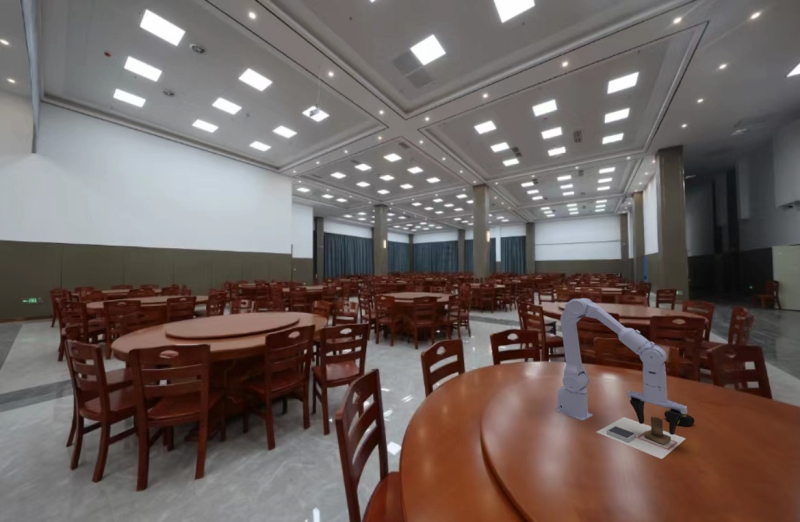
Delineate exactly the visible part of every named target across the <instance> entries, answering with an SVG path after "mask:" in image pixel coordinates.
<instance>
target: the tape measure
mask: <svg viewBox="0 0 800 522" xmlns="http://www.w3.org/2000/svg"><path fill="white" fill-rule="evenodd" d="M669 410H670V409H666V411H665V412H664V413H663V416H664V417H665V420H666V421H668V422H669V418H668V413H667V412H668V411H669ZM694 424H695V419H694V417H693V416H690V415H689V414H688V413H686V414H682V416H681V417H680V419H679V421H678V423H677V425H678V426H682V427H690V426H691V425H694Z"/></svg>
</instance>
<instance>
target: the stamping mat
mask: <svg viewBox="0 0 800 522" xmlns="http://www.w3.org/2000/svg"><path fill="white" fill-rule="evenodd" d="M649 430H651V425H649V424H645V423H643V424H640V423H639V421H638V420H637V421H636V420H634V419H631V418H627V417H625V416H623V417H621V418H619V419H617V420H616V421H614V422H611V423H610V424H608V425H606V426H605V427H603V428H601V429H599V430H597V431H596V434H598V435H602V436H605V437H607V438H609V439H612V440H614V441H616V442H619V443H621V444H624V445H626V446H629V447H631V448H634V449H636V450H639V451H641V452H644V453H646V454H648V455H650V456H653V457H655V458H658V459H660V460H662V459H664V458H665V457H667V455H668V454H670V453H671V452H672V451H674V450H675V449H676V448H677V447H678V446H679V445H681V443H683V442H684V441H685V440H686V439H687V438H685V437H683V436H681V435H680V436H679V435H677V434H673V435H671V434H670V433H669V431H666V430H663V434H665V435H668V436H671V441H670V442H668V443H667V444H665V445H661V444H659V443H656V442H654V441H651V440H649V439H646V438H645V437H644V433H645V432H647V431H649Z"/></svg>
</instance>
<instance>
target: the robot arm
mask: <svg viewBox="0 0 800 522" xmlns="http://www.w3.org/2000/svg"><path fill="white" fill-rule="evenodd" d="M564 305H565V306H564V309H563V311H562V313H561V315H560V318H559V319H560V326H561V334H562V341H563V349H564V357H565V366H564V370H563V377H562V385H561V386H560V387H559V389H558V391H557V409H556V411H557V412H559V413H561V414H564V415H567V416H569V417H571V418H574V419H576V420H579V421H586V420H587V419H589V418H591V417H594V414H592V413H590V412H589V410H588V409H589V408H588V406H589V405H588V404H589V403H588V390H587V386H589V385H590V384H589V383H590V378H589V376H588V375H587V372H586V368H585V366H584V365H583V362H582V357H581V349H580V342H579V341H580V340H579V333H578V327H577V323H578V322H579V321H580V320H581V319H582V318H583V317H587V318H591V319H596V320H597V321H599V322H600V323H602V324H603V325H604V326H606V327H608V328H609V329H610V330H611V331H613V332H614V333H616V334H617V337H618V340H619V341H620V342H621V343H622V344H624V345H625V346H626V347H628V349H630V350H631V351H632V352H634V353H635V354H636V355H639V359H640V360H641V362H642V382H643V383H642V386H643V389H642V390H643V391H642V392H643V393H642V392H638V391H632V390H628V391H627V393H626V398H628V399H630V401H629V403H630V405H631V406H632V408H633V410H634V412H635V413H636V416H637V421H638V422H639V423H640V424H645V412H644V411H645V403H647V404H651V405H655V406H658V407H662V408H664V409H667V410H669V411H668V412H667V413H668V418H669V421H668V430H669V431H668V432H669V433H670V434H671V435H673V434H674V435H676V434H675V433H676V428H677V423H678V421H679V419H680V417H681V416H682V414H688V407H687V405H683V404H681V403H677V402H675V401H673V400H669V399H668V391H667V387H668V386H667V372H666V363H665V362H666V361H667V358H668V357H667V353H666V351H665V350H664V349H663V347H662V346H659V345H657V344H656V343H655V342H653V341H649V339H647V338H646V337H645V336H643V335H642V334H641V331H639V330H638V329H636V330H635V329H634V328H632V327H625V326H624V325H623V324H621V322H619V321H618V320H617V319H615V318H614V317H613V316H612V315H611V314H610V313H608V312H607V311H606V310H604V309H603V308H602V307H601V306H600V305H599V304H597V303H595V302H593V301H592V300H591V299H590V298H586V297H582V298H572V299H570V300H569V301H568V302H567V303H566V304H564Z"/></svg>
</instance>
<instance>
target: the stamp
mask: <svg viewBox="0 0 800 522" xmlns="http://www.w3.org/2000/svg"><path fill="white" fill-rule="evenodd" d="M650 426H651V430H649V431H647V432H645V433H644V437H645V438H646V439H649V440H651V441H654V442H656V443H659V444H661V445H665V444H667V443H668V442H670V441H671V436H668V435H665V434H663V431H664V428H663V427H664V425H663V419H662V418H660V417H656V416H650Z"/></svg>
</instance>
